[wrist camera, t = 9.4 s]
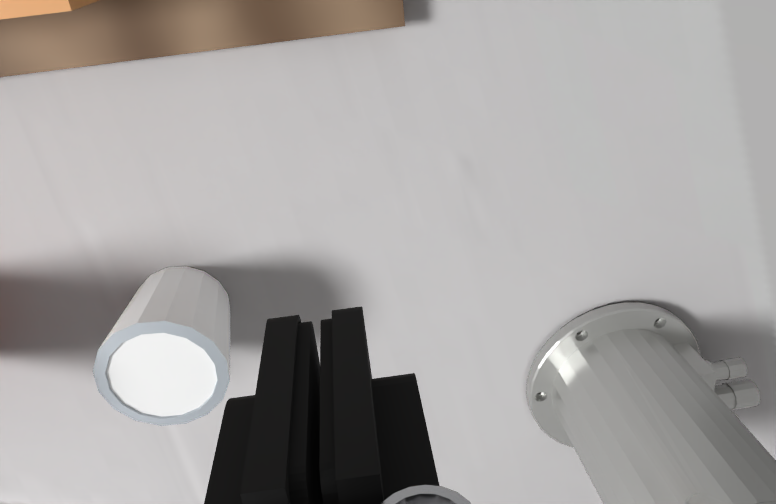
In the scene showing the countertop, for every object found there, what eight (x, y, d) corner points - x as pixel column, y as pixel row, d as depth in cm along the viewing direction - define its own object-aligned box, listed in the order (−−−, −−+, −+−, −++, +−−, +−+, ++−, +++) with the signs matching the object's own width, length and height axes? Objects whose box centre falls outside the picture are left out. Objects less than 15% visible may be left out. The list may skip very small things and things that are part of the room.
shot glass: (154, 237, 37) (125, 300, 31) (260, 287, 39) (252, 355, 33) (107, 324, 39) (71, 399, 33) (210, 366, 41) (194, 443, 35)
